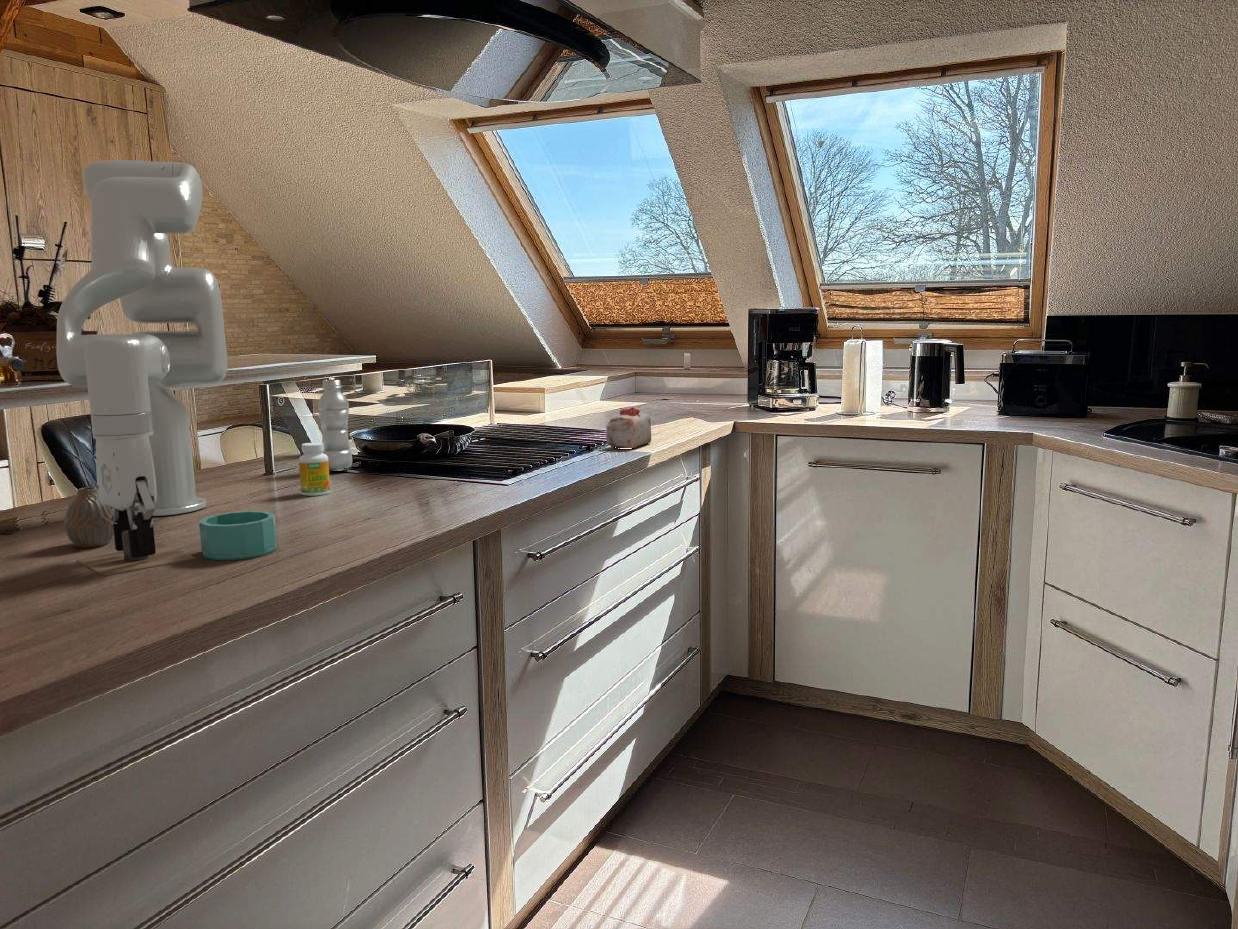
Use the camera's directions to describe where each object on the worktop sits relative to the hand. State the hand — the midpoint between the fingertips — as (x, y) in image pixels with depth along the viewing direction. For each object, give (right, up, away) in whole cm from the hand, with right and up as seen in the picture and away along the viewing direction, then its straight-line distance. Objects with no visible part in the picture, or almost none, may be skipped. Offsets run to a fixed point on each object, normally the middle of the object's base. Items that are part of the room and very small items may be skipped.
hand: (135, 551), depth 135 cm
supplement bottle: (+10, +7, +48) cm, 49 cm away
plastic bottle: (+7, +11, +73) cm, 74 cm away
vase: (-11, 0, +10) cm, 15 cm away
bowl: (+13, 0, +4) cm, 14 cm away
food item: (+72, +17, +103) cm, 127 cm away
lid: (0, -2, 0) cm, 2 cm away
